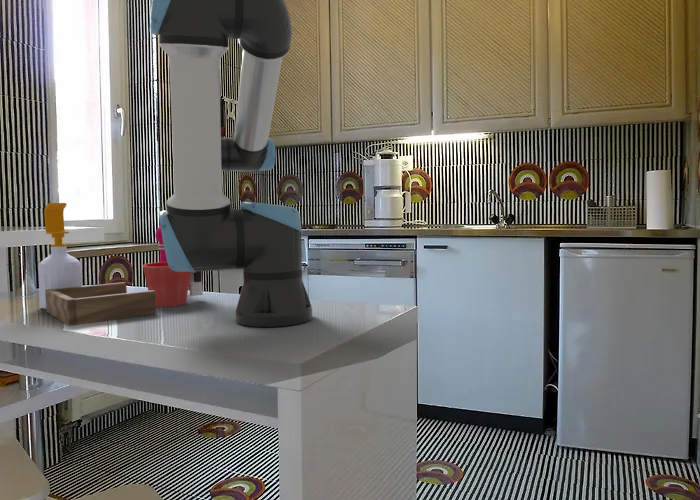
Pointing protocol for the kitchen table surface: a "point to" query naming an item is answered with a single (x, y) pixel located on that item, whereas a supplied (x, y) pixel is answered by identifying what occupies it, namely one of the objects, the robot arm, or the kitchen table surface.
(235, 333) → the kitchen table surface
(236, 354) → the kitchen table surface
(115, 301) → the tray
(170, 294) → the flower pot
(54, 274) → the soap bottle
